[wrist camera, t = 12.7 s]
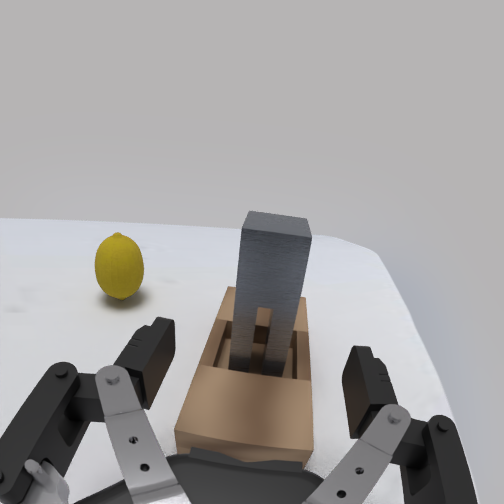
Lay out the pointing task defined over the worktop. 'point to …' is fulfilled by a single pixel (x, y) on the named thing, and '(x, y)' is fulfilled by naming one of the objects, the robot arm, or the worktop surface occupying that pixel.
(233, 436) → the wooden slotted base
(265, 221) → the block
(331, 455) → the worktop surface
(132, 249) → the lemon
